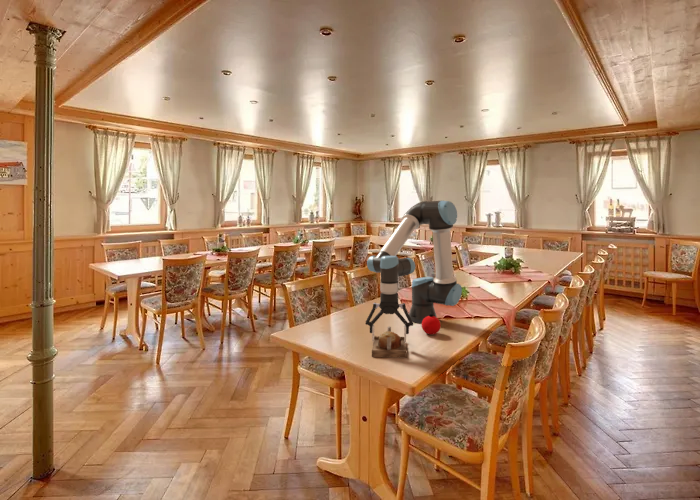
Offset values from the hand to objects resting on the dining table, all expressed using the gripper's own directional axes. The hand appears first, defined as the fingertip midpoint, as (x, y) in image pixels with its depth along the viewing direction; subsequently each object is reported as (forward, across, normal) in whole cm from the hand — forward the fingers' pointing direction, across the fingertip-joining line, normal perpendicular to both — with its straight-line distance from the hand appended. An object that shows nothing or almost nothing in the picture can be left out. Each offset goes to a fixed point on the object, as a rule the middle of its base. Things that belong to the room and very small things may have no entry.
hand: (389, 340), depth 165 cm
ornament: (+4, -20, -22) cm, 30 cm away
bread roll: (+2, 0, 0) cm, 2 cm away
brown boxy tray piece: (+4, 0, 0) cm, 4 cm away
